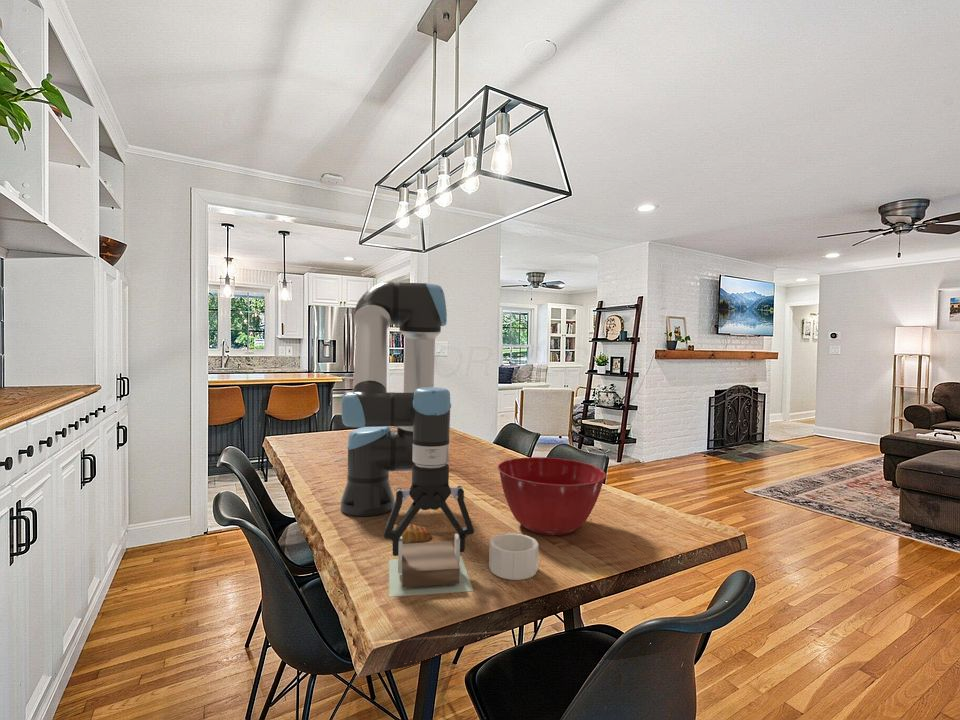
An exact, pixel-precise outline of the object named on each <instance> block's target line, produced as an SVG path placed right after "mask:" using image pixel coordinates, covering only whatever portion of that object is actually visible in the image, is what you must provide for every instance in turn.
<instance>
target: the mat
mask: <svg viewBox="0 0 960 720" xmlns="http://www.w3.org/2000/svg"><path fill="white" fill-rule="evenodd" d="M459 568H460V574H459V584H444V585H429V586H414V587H402V573H398V558H397V559H395V558H394V559H388V573H389V574H388V590H389V591H388V597H389V598H392V597H393V598H394V597H407V596H409V597H410V596H419V595H420V596H422V595H434V594H435V595H436V594H437V595H438V594H448V593H451V594H452V593H453V594H454V593H462V592H463V593H465V592H474V589H473V586H472V583H471V580H470V577H469V573H468V571H467V568H466V565H465V562H464V560H463V556H462V555H460V563H459Z"/></svg>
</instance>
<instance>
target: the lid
mask: <svg viewBox="0 0 960 720" xmlns="http://www.w3.org/2000/svg"><path fill="white" fill-rule="evenodd" d="M459 574H460V568H459V565H458V561H457V558H456V555H455V552H454V545H453V542H452V541H451V540H450V541H449V540H448V541H432V542H431V541H430V542H413V543H403V544H402V587H414V586H429V585H444V584H459Z"/></svg>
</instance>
